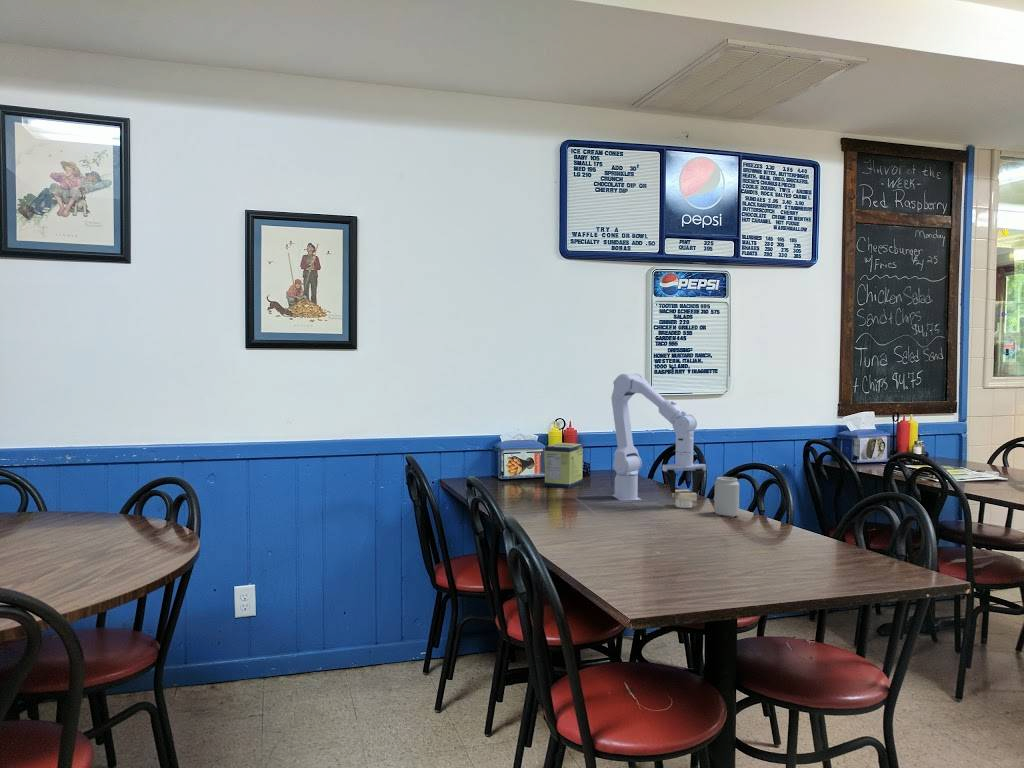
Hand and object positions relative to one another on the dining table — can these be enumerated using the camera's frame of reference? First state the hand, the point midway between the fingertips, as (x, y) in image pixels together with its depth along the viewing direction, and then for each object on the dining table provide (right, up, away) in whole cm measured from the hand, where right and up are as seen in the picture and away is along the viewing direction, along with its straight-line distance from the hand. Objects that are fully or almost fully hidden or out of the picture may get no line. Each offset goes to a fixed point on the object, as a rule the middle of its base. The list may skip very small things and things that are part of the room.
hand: (683, 492), depth 249 cm
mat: (-12, -5, 0) cm, 13 cm away
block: (0, -2, 0) cm, 2 cm away
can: (+11, -6, -11) cm, 17 cm away
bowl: (0, -5, 0) cm, 5 cm away
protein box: (-37, -4, +45) cm, 58 cm away
